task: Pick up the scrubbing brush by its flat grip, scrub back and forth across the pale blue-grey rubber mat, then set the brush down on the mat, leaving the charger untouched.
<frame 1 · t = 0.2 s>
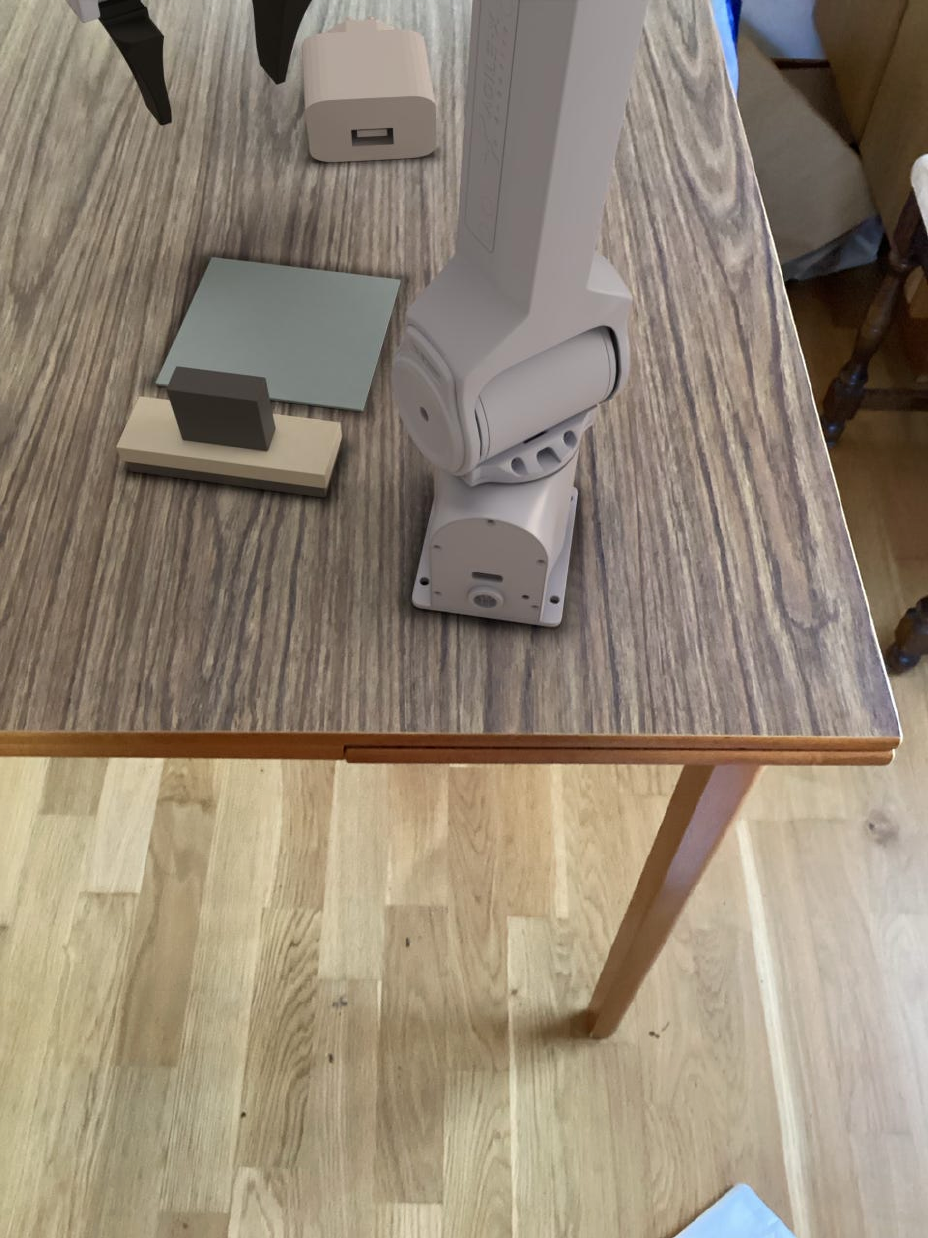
hand: (217, 93, 62), 11 cm above the table, tool pointing down, fingers open, 7 cm apart
charger: (367, 104, 80), on the table
brush: (236, 460, 60), on the table
mat: (283, 331, 66), on the table
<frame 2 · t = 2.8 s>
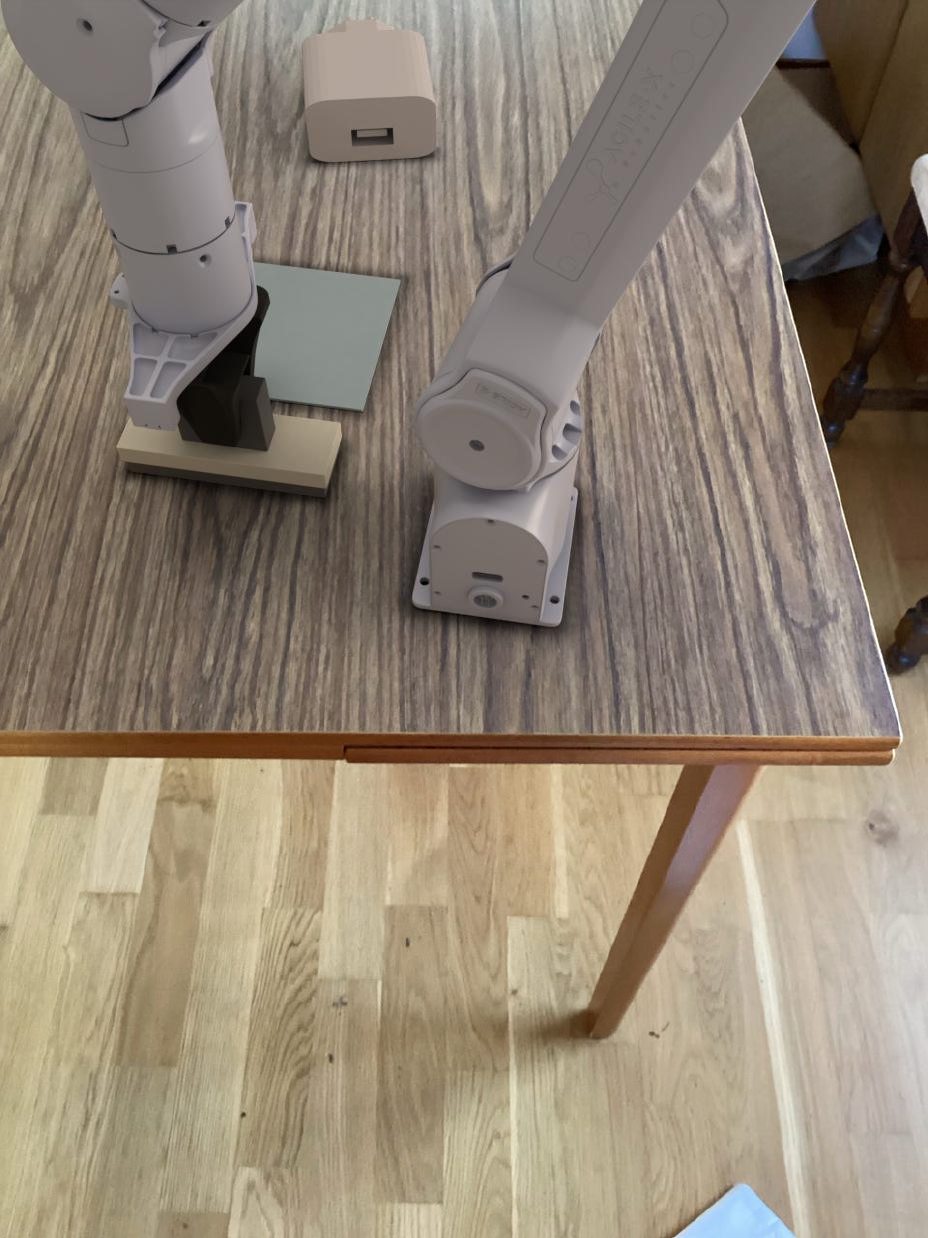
hand: (226, 424, 57), 3 cm above the table, tool pointing down, fingers closed on brush, 2 cm apart
brush: (235, 460, 60), on the table, touching gripper
everything else where it was.
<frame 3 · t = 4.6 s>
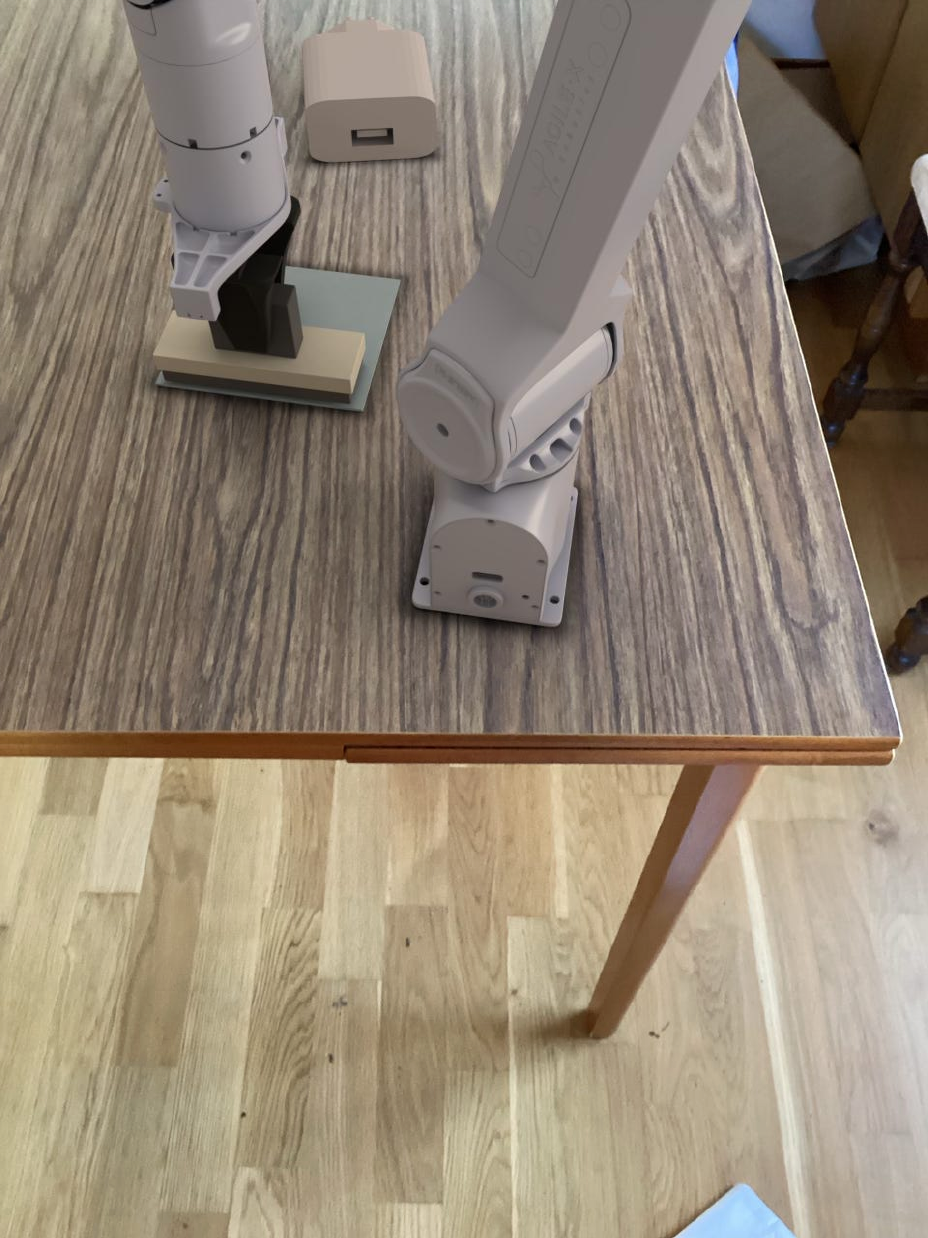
hand: (257, 332, 61), 4 cm above the table, tool pointing down, fingers closed on brush, 2 cm apart
brush: (265, 370, 63), point 1 cm above the table, touching gripper
everything else where it was.
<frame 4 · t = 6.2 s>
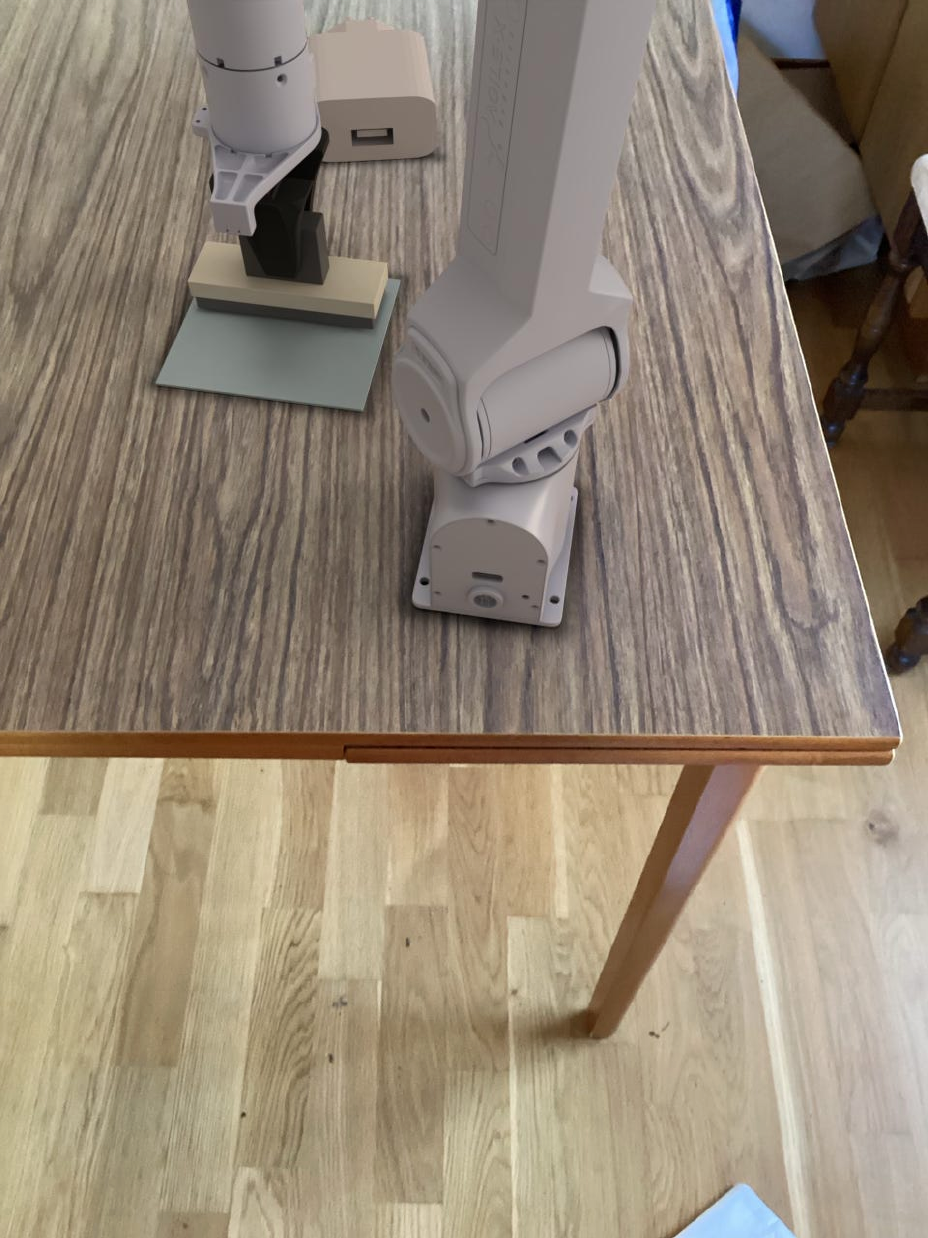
hand: (286, 260, 64), 3 cm above the table, tool pointing down, fingers closed on brush, 2 cm apart
brush: (292, 299, 67), resting on mat, touching gripper
everything else where it was.
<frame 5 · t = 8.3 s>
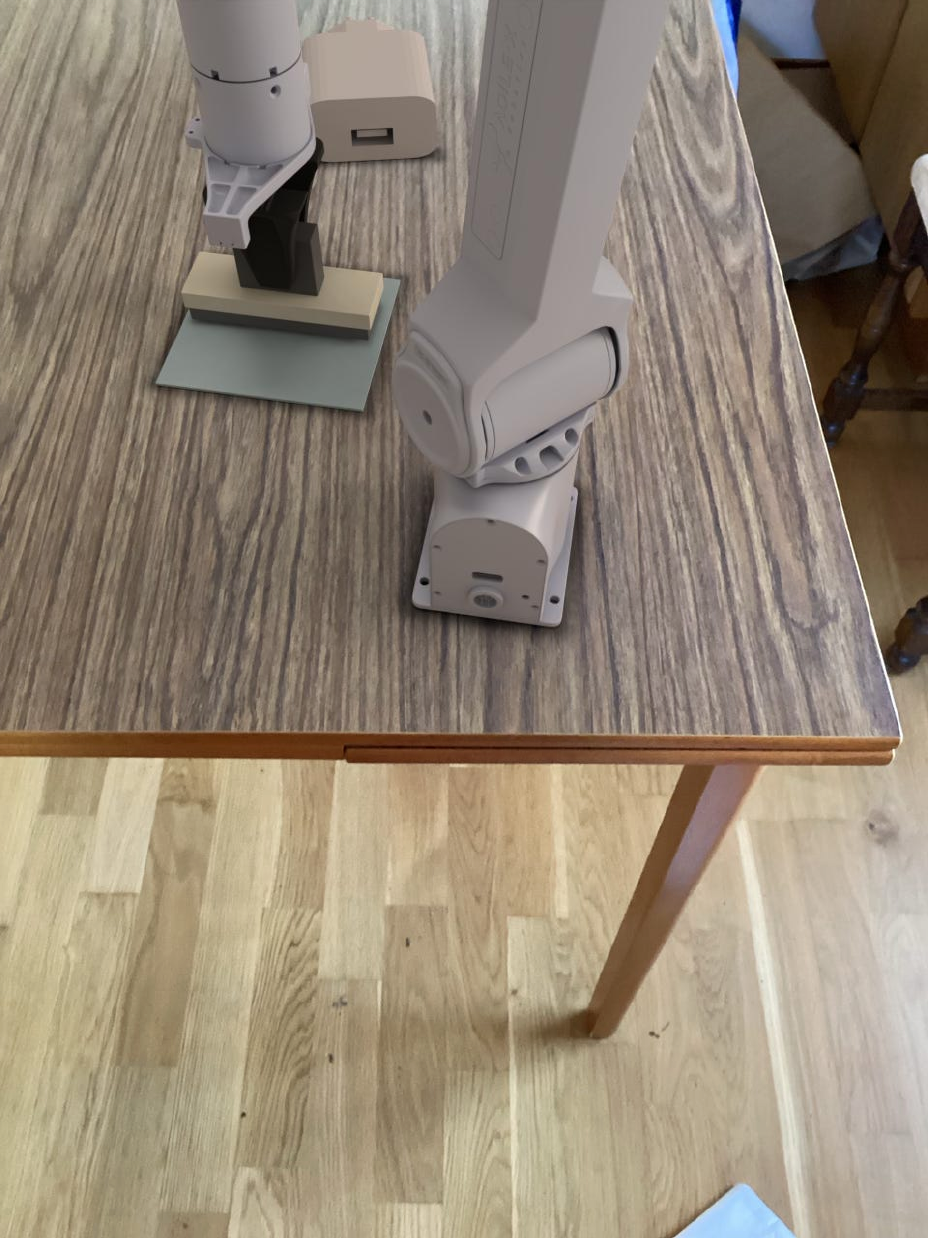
hand: (281, 271, 64), 4 cm above the table, tool pointing down, fingers closed on brush, 2 cm apart
brush: (287, 309, 66), point 1 cm above the table, touching gripper
everything else where it was.
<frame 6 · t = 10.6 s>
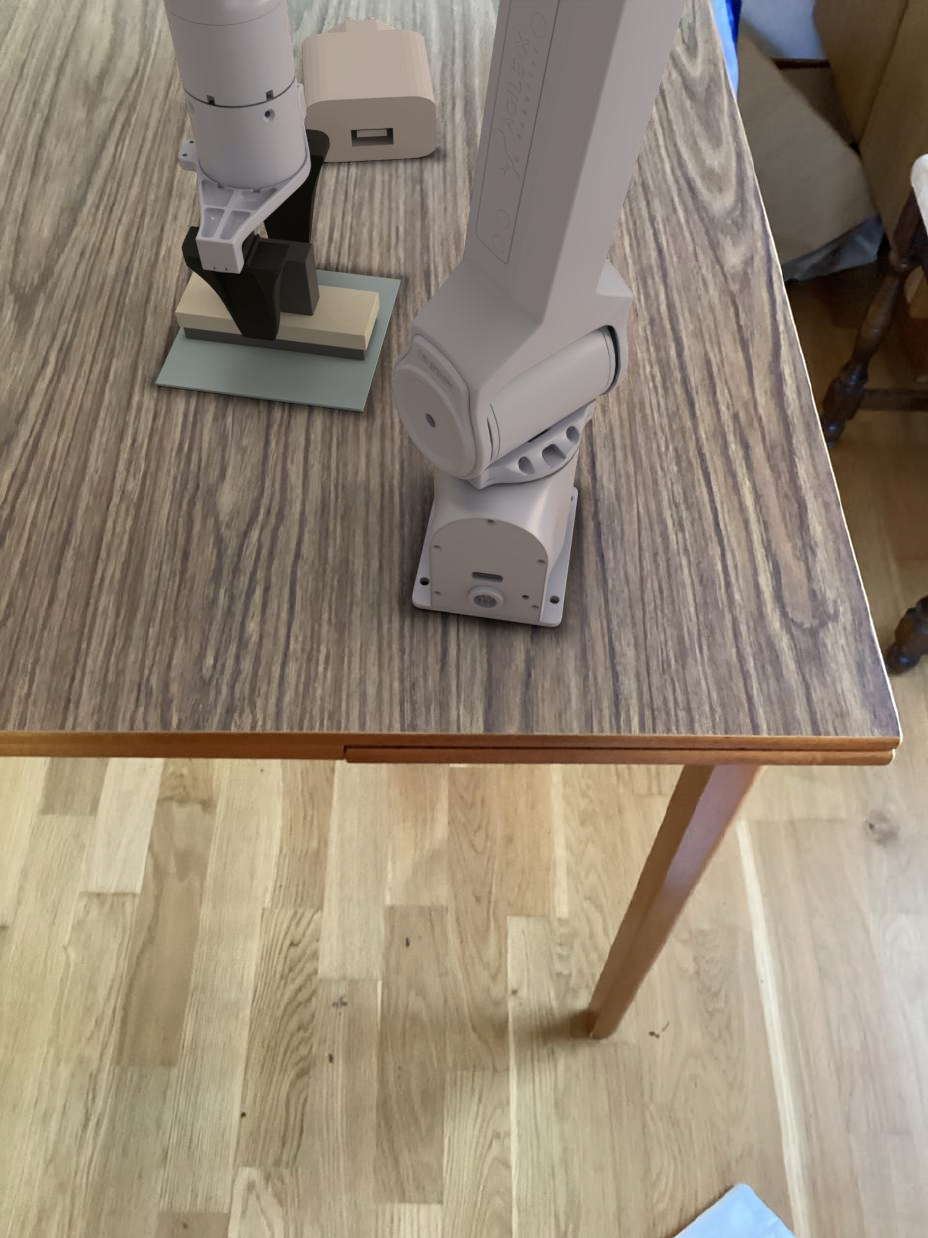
hand: (276, 292, 63), 3 cm above the table, tool pointing down, fingers open, 7 cm apart
brush: (282, 329, 66), resting on mat
everything else where it was.
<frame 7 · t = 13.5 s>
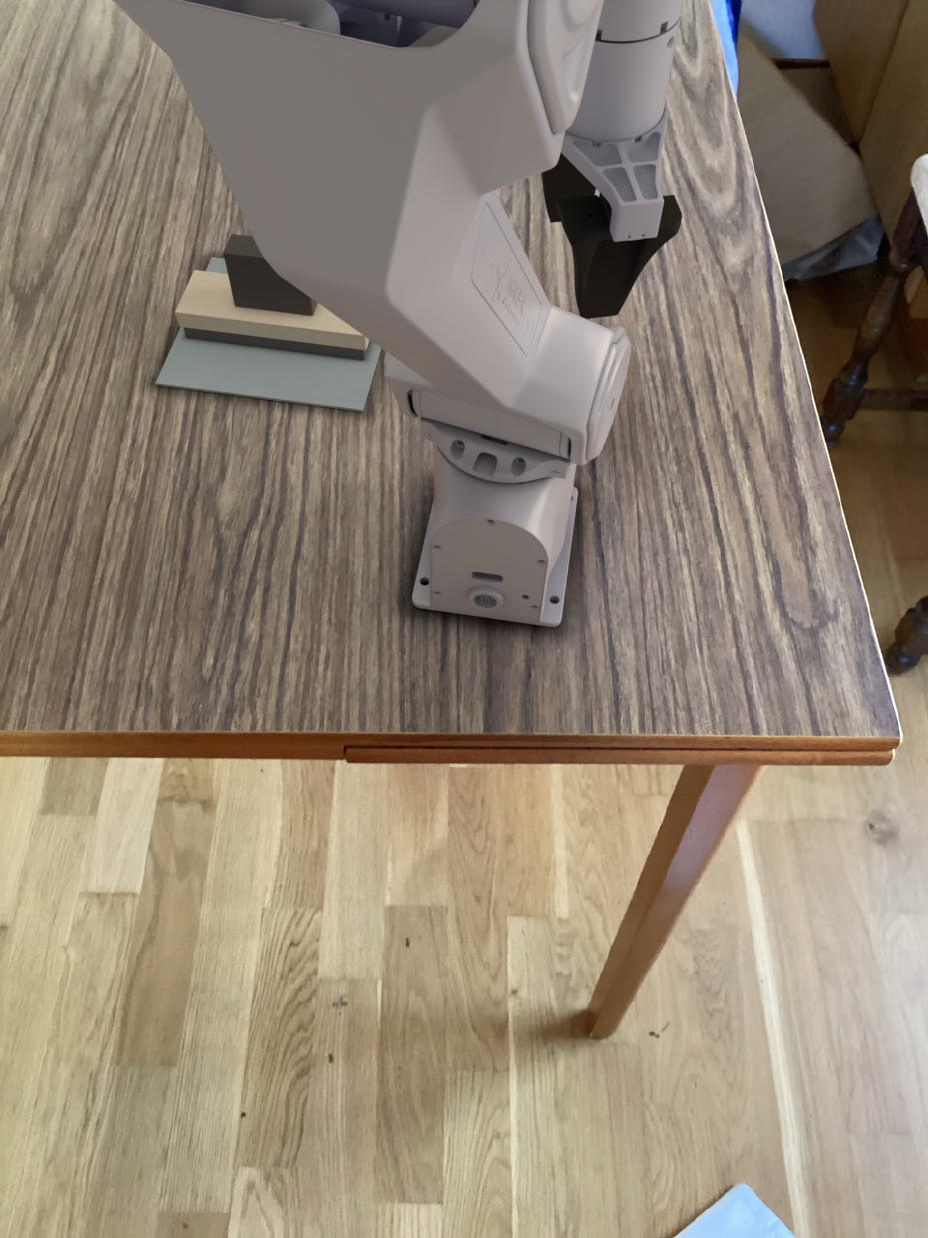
hand: (582, 263, 55), 9 cm above the table, tool pointing down, fingers open, 7 cm apart
nothing on the table moved.
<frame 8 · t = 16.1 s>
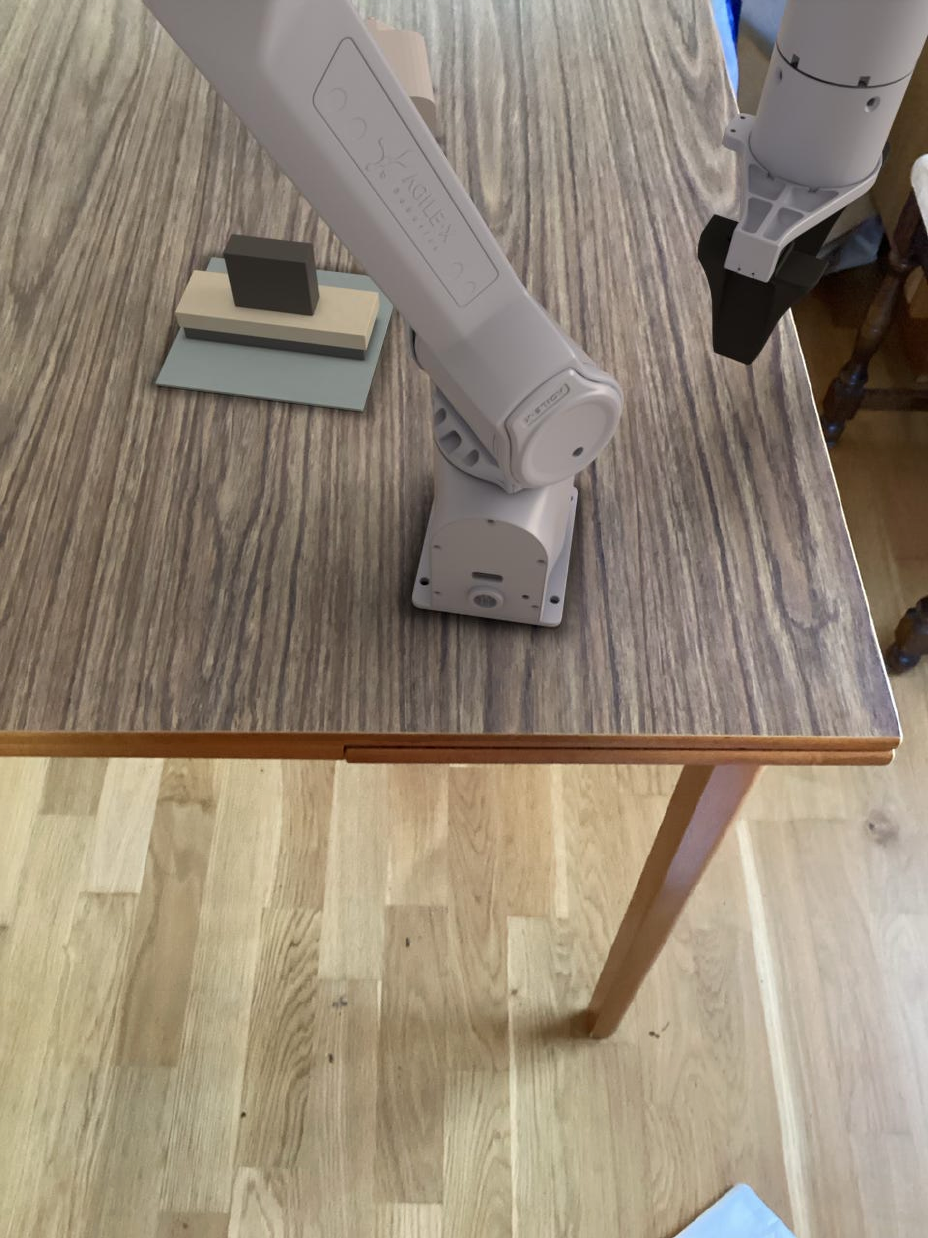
hand: (760, 310, 54), 9 cm above the table, tool pointing down, fingers open, 7 cm apart
nothing on the table moved.
at the end: brush inside the target area on the mat (0.0 cm from its centre), point 0.2 cm above the mat's base; brush tilted 0°; charger moved 0.2 cm from its start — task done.
